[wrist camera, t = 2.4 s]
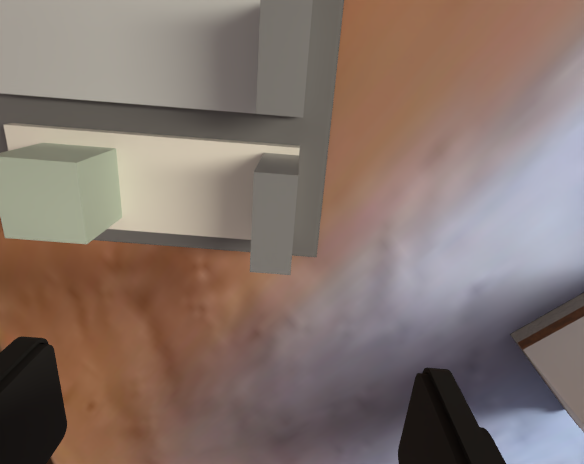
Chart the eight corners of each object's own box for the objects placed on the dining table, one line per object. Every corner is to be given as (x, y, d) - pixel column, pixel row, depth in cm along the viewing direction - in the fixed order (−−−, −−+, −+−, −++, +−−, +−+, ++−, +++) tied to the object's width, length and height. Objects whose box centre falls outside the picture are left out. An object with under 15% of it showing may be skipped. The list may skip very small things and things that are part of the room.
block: (116, 148, 26) (76, 162, 22) (122, 217, 28) (86, 244, 24) (42, 142, 26) (-13, 155, 22) (53, 211, 28) (5, 237, 24)
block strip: (299, 145, 27) (299, 166, 21) (292, 238, 30) (289, 282, 23) (13, 123, 27) (-79, 136, 20) (30, 217, 30) (-46, 256, 23)
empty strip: (311, -3, 24) (315, -34, 17) (302, 116, 26) (302, 127, 20) (-14, -29, 24) (-134, -70, 17) (8, 92, 26) (-89, 96, 20)
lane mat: (346, -26, 24) (347, -28, 23) (316, 254, 31) (316, 257, 30) (-45, -58, 24) (-52, -60, 23) (13, 231, 31) (9, 233, 30)
